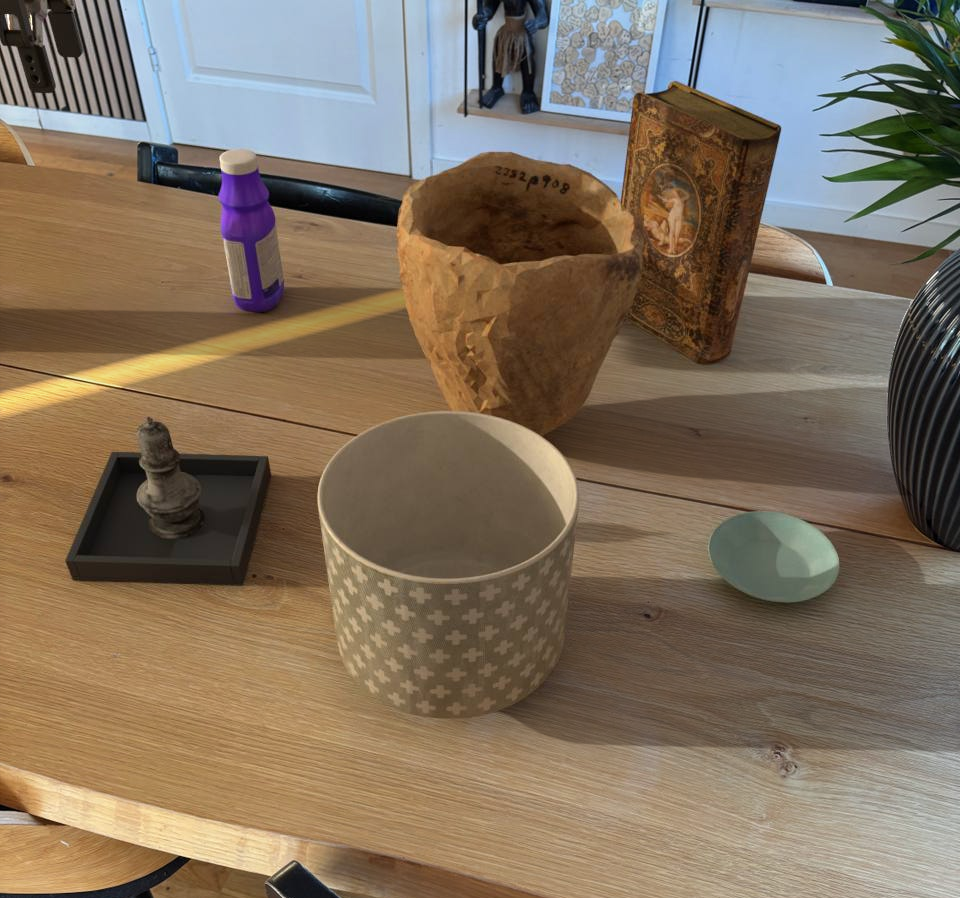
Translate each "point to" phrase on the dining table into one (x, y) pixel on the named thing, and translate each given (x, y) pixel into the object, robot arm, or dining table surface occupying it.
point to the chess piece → (167, 485)
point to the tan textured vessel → (517, 283)
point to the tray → (190, 560)
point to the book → (695, 213)
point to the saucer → (773, 556)
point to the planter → (449, 560)
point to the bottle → (249, 233)
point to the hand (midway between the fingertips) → (58, 73)
